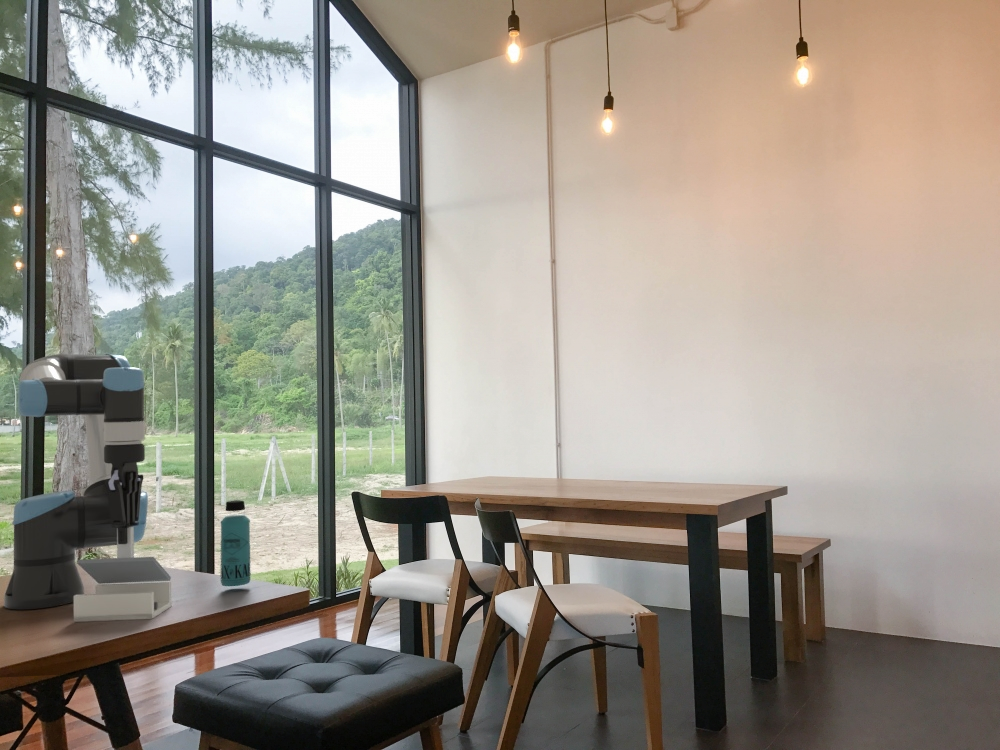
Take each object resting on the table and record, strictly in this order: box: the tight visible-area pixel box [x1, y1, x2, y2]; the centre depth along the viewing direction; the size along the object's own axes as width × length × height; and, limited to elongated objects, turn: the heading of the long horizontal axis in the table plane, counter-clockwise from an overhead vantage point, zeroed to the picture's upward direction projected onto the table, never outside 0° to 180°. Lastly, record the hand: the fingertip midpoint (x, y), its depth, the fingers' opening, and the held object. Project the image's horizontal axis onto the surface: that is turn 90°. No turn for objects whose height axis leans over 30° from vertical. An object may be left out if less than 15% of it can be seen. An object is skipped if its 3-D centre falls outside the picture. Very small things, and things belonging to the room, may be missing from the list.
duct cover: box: [76, 556, 172, 585], centre depth 161 cm, size 11×15×1 cm
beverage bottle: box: [219, 499, 252, 587], centre depth 179 cm, size 6×7×20 cm
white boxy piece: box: [73, 581, 172, 623], centre depth 160 cm, size 10×15×5 cm, turn 92°
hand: (125, 559), depth 161 cm, fingers closed
